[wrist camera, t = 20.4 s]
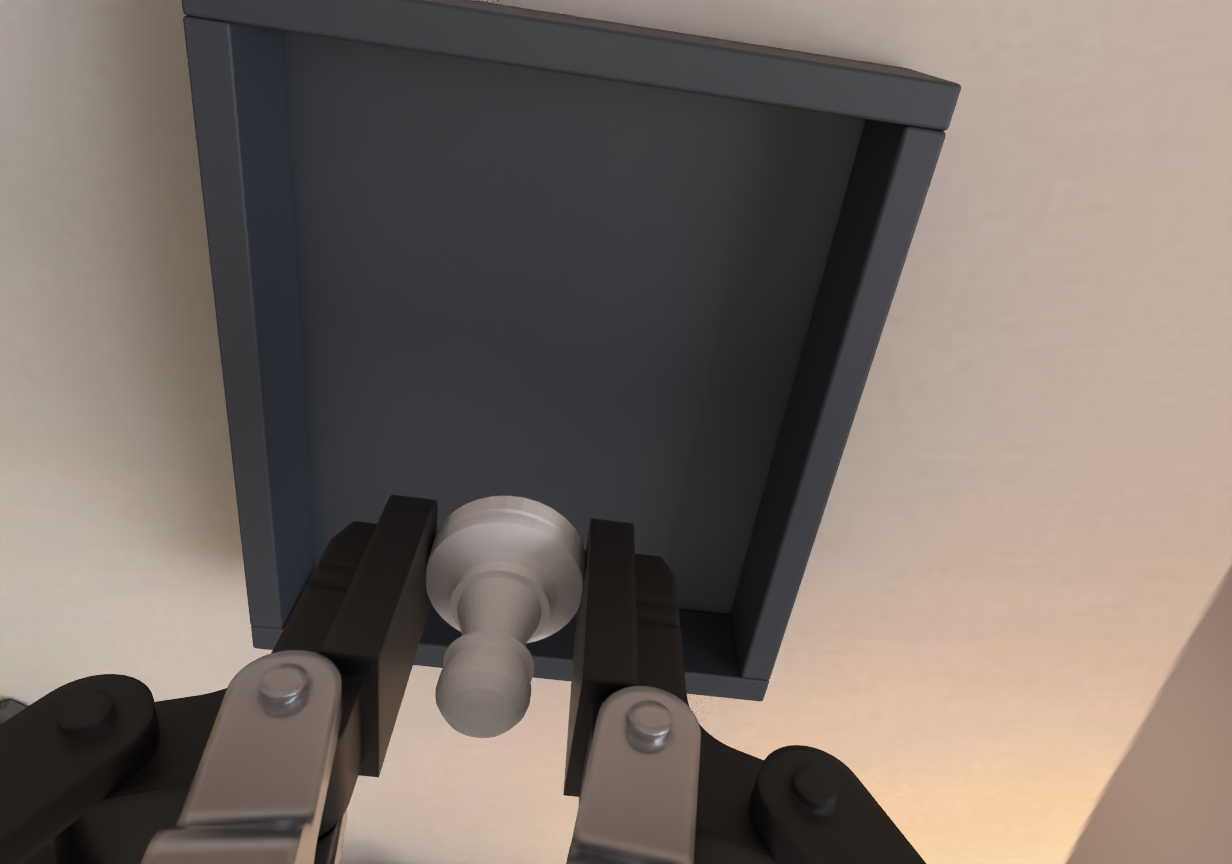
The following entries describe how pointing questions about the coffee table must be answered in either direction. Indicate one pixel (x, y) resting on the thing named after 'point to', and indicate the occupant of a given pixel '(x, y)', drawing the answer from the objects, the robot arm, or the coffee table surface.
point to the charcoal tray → (549, 287)
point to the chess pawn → (500, 604)
